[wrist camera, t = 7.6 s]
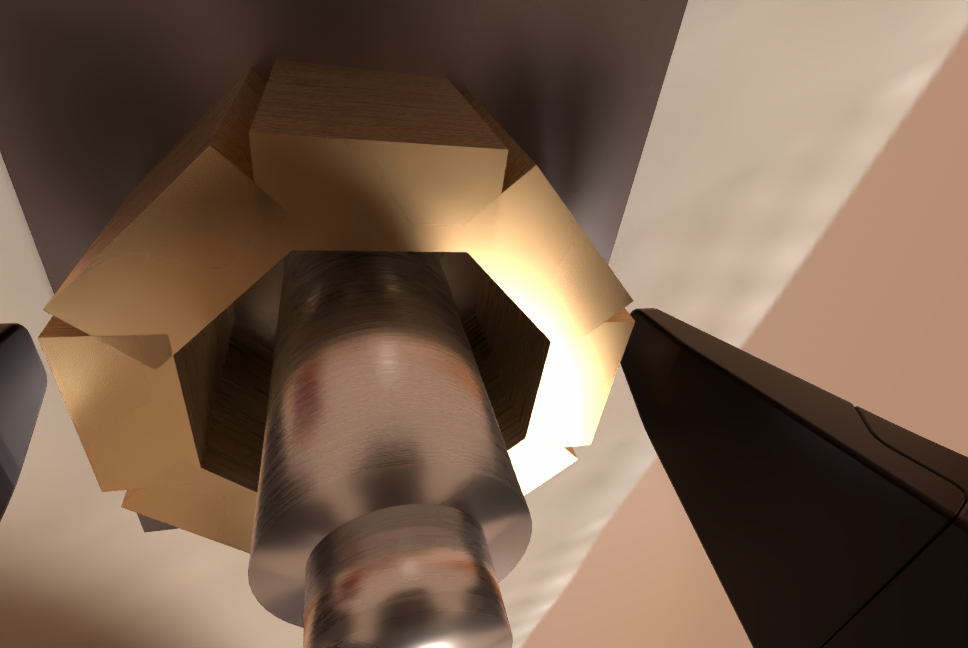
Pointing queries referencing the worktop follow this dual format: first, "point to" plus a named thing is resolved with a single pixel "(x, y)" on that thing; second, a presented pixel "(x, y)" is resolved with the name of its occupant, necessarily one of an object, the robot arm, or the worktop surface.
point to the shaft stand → (347, 270)
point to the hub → (320, 226)
